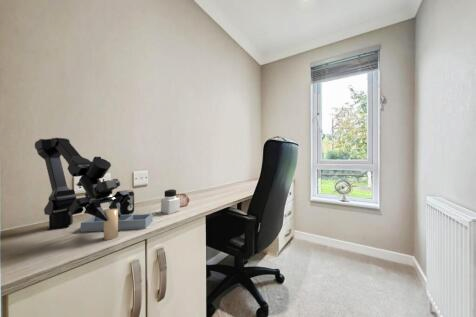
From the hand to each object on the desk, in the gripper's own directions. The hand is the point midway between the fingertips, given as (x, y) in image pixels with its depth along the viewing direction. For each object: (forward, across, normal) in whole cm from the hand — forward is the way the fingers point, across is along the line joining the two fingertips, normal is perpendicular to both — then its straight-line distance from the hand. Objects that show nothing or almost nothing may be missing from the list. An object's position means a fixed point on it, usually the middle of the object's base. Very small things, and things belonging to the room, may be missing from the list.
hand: (113, 218), depth 68 cm
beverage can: (-12, +24, +22) cm, 35 cm away
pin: (+4, 0, +6) cm, 7 cm away
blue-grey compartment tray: (-2, +9, +12) cm, 15 cm away
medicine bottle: (+2, +35, +8) cm, 36 cm away
